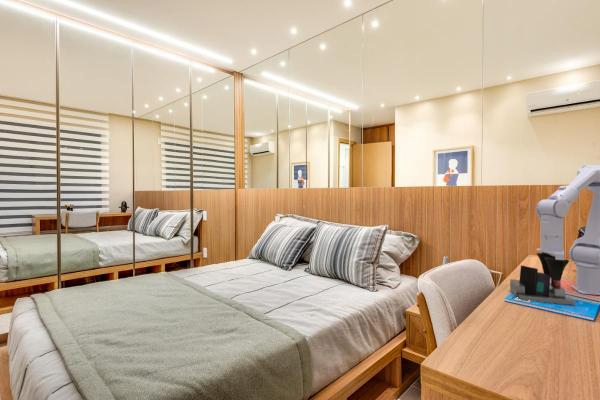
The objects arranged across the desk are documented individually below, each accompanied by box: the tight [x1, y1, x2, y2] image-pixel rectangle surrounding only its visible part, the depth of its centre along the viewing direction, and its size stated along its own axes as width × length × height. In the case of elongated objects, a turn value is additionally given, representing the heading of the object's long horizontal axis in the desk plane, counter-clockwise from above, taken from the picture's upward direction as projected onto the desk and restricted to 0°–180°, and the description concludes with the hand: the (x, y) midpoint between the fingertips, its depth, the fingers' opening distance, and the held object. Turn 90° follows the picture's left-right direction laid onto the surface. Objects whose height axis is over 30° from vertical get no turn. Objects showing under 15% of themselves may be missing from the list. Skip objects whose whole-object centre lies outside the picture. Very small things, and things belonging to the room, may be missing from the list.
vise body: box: [509, 278, 576, 306], centre depth 100 cm, size 14×12×4 cm
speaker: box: [518, 264, 551, 297], centre depth 100 cm, size 8×6×10 cm
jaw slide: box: [548, 279, 566, 298], centre depth 98 cm, size 3×8×10 cm, turn 156°
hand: (552, 277), depth 99 cm, fingers open, 6 cm apart
